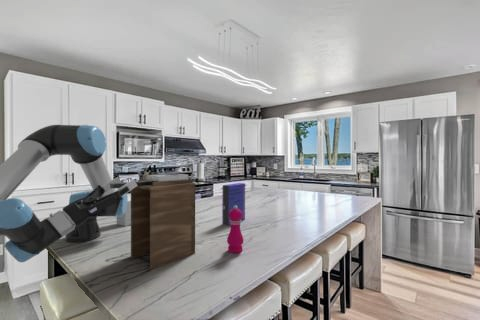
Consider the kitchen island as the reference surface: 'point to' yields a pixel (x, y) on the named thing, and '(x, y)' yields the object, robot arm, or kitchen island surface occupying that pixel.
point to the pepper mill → (235, 231)
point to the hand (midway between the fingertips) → (127, 181)
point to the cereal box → (233, 200)
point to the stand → (163, 221)
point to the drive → (155, 179)
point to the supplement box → (125, 215)
